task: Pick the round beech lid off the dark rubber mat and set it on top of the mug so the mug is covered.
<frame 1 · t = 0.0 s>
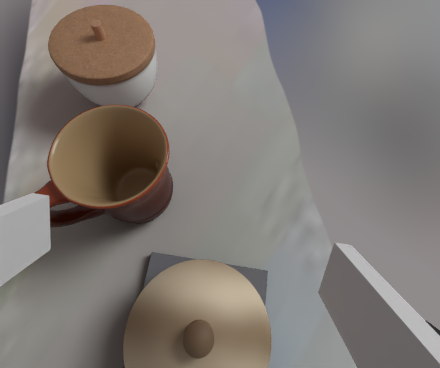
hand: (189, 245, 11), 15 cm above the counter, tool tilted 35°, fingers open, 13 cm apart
lid: (199, 328, 22), point 1 cm above the counter, touching mat
mat: (199, 326, 23), on the counter
mug: (130, 202, 27), on the counter
lidded jar: (124, 91, 33), on the counter
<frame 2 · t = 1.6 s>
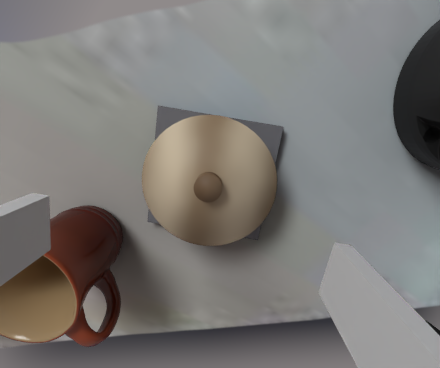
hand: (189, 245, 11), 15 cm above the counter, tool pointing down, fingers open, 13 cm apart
lid: (211, 177, 24), point 1 cm above the counter, touching mat
mat: (211, 175, 25), on the counter
mug: (105, 241, 28), on the counter
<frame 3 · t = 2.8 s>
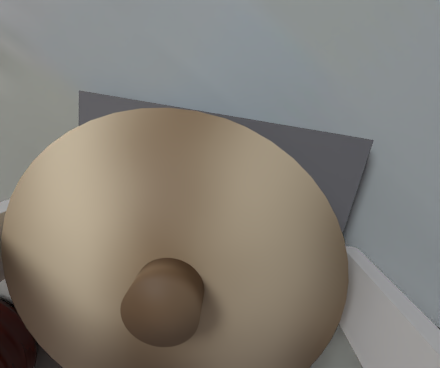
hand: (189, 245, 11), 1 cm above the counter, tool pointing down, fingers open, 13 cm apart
lid: (186, 244, 11), point 1 cm above the counter, touching mat
mat: (206, 237, 12), on the counter
mug: (11, 347, 15), on the counter
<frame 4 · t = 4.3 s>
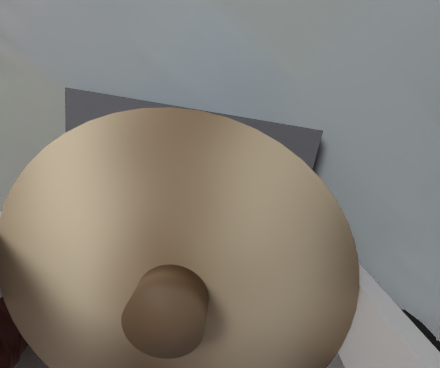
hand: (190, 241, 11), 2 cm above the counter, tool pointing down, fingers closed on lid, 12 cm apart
lid: (188, 249, 11), point 3 cm above the counter, touching gripper
mat: (184, 219, 14), on the counter
mug: (4, 329, 16), on the counter
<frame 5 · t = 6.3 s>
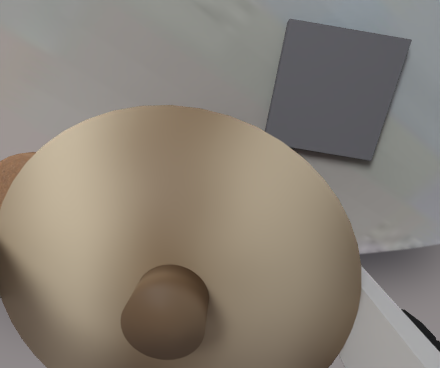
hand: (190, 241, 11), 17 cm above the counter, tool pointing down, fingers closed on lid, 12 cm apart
lid: (188, 248, 11), point 18 cm above the counter, touching gripper
mat: (329, 95, 26), on the counter
lidded jar: (88, 187, 30), on the counter
when the fingers open (10 cm above the counter, at t = 8.2 s): lid stays where it is, resting on mug.
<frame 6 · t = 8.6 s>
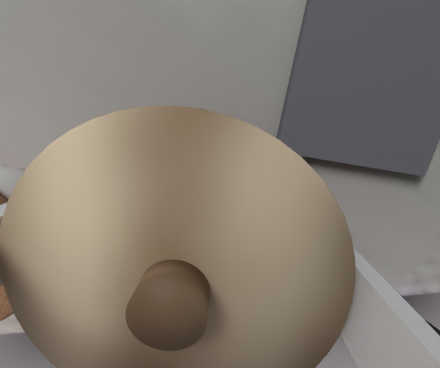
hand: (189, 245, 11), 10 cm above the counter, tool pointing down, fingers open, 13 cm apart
lid: (188, 245, 11), point 10 cm above the counter, touching mug
mat: (367, 85, 18), on the counter
lidded jar: (40, 209, 22), on the counter
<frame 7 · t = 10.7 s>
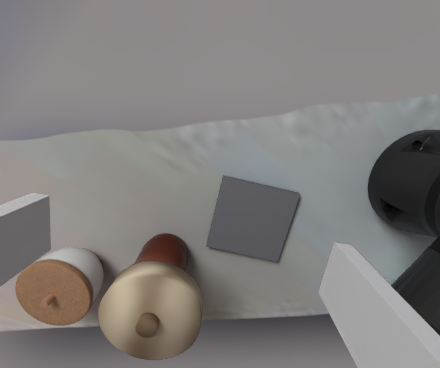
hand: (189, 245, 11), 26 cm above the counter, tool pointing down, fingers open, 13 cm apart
lid: (156, 301, 31), point 10 cm above the counter, touching mug
mat: (251, 218, 39), on the counter
mug: (173, 256, 41), on the counter, touching lid
lidded jar: (84, 263, 42), on the counter
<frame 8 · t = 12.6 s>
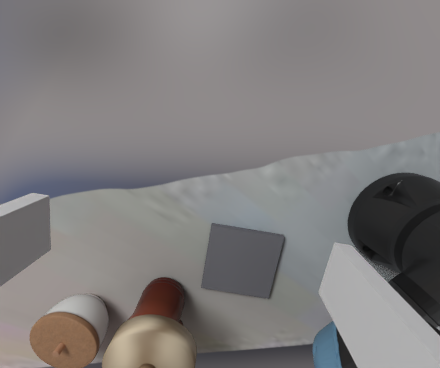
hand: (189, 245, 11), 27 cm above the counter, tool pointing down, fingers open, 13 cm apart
lid: (154, 349, 34), point 10 cm above the counter, touching mug
mat: (240, 260, 41), on the counter
mug: (172, 297, 44), on the counter, touching lid
lidded jar: (90, 306, 45), on the counter
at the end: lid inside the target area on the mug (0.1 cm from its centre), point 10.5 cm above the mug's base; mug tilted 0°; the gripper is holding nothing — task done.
